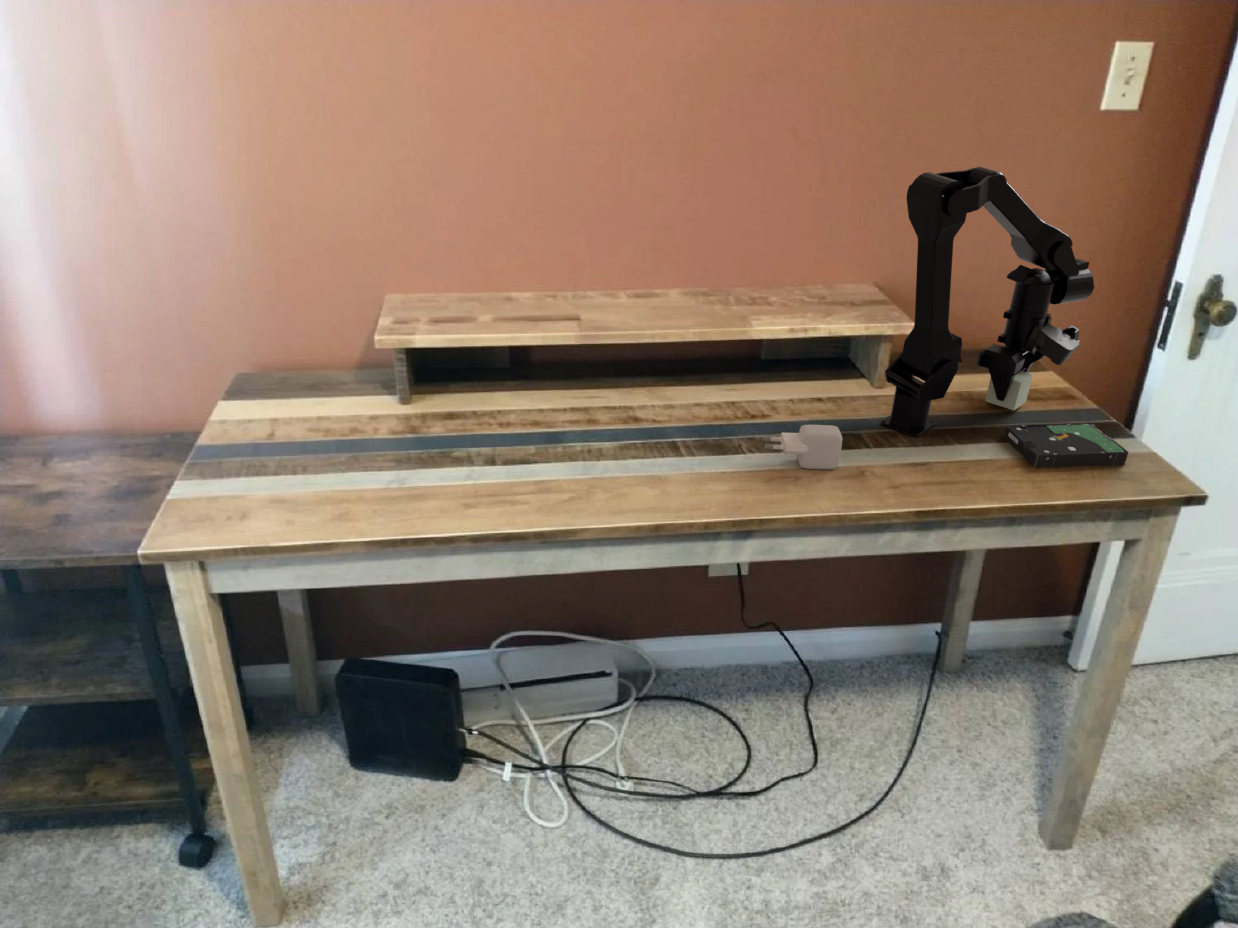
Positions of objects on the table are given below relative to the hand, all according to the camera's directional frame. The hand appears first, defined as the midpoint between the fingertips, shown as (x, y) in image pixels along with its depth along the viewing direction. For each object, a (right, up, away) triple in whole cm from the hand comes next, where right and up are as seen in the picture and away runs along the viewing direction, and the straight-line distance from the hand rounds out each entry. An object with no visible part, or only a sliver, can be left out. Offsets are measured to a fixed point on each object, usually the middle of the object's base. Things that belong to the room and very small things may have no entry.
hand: (1006, 395), depth 163 cm
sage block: (0, -1, +1) cm, 1 cm away
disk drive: (+3, -10, -13) cm, 16 cm away
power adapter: (-39, -12, -20) cm, 45 cm away
